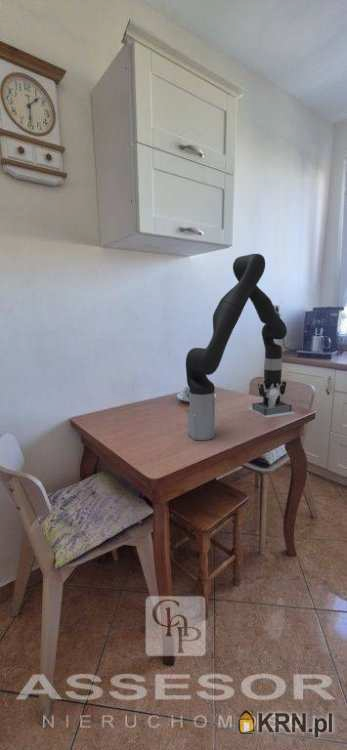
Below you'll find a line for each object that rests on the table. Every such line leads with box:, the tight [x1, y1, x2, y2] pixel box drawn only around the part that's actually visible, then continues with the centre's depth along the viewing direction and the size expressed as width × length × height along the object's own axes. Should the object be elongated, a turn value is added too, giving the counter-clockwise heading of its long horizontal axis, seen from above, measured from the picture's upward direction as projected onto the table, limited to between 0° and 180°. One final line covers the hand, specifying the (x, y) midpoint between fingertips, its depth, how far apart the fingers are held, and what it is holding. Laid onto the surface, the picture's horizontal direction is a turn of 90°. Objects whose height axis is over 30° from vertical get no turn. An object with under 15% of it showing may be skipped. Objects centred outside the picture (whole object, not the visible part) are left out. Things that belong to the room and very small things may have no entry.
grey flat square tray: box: [248, 400, 297, 419], centre depth 146 cm, size 15×15×3 cm
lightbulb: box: [266, 387, 279, 408], centre depth 145 cm, size 6×6×11 cm
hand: (271, 404), depth 145 cm, fingers closed on lightbulb, 5 cm apart
